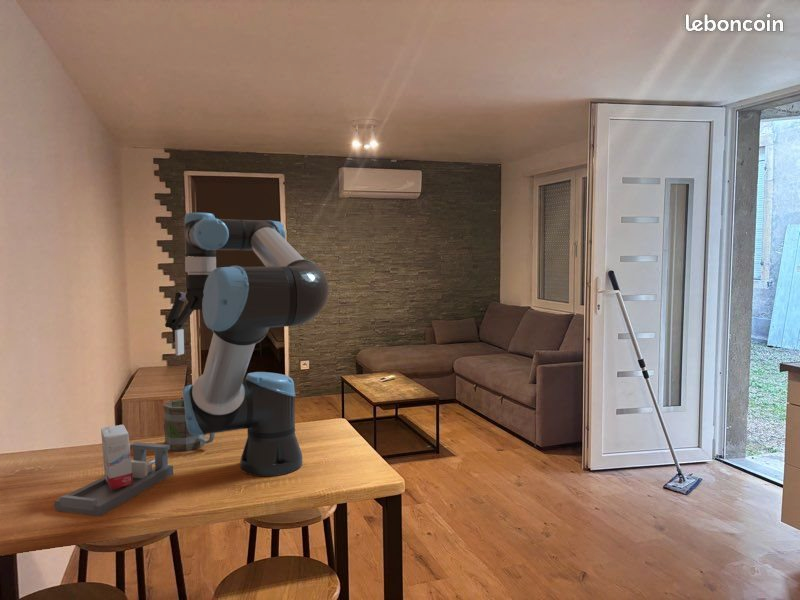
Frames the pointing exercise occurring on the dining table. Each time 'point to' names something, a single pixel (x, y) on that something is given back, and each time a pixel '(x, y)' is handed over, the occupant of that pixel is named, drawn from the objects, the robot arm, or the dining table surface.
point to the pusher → (141, 468)
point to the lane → (103, 499)
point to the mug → (180, 429)
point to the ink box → (116, 456)
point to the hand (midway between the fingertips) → (203, 355)
